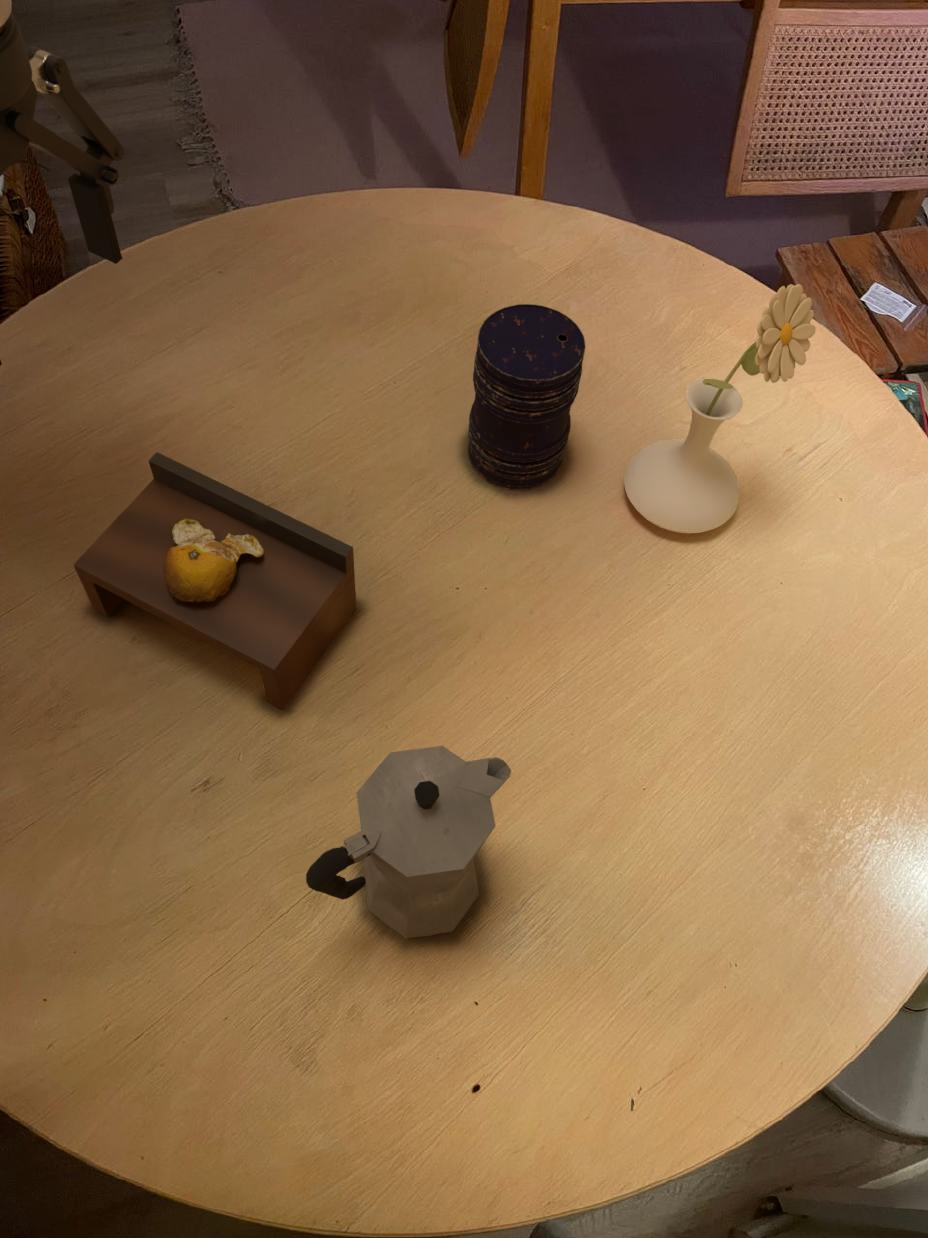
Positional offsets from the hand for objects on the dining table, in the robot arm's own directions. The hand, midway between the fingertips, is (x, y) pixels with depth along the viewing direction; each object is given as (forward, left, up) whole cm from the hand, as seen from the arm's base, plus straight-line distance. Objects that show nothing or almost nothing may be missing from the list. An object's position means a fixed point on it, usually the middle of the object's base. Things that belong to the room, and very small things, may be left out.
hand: (47, 305), depth 78 cm
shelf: (+16, -5, -24) cm, 29 cm away
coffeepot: (+43, -19, -24) cm, 52 cm away
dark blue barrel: (+30, +25, -24) cm, 46 cm away
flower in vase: (+47, +29, -24) cm, 60 cm away
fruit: (+16, -4, -17) cm, 24 cm away
